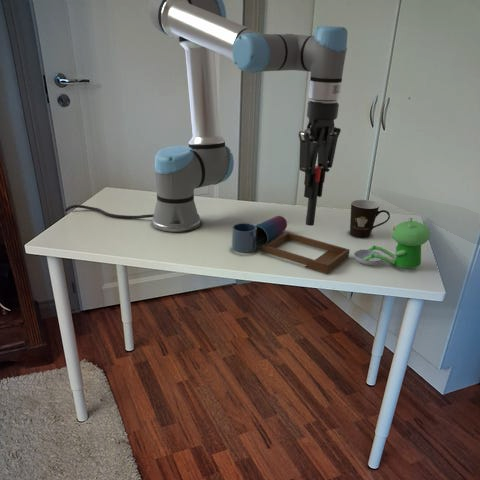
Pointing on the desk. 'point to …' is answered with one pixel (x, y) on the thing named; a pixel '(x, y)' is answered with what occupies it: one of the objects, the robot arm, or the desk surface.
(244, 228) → the pen cup
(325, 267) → the pen tray
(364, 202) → the coffee mug
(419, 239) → the toy character
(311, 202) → the marker
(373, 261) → the shallow grey dish
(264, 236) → the cup
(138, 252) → the desk surface
